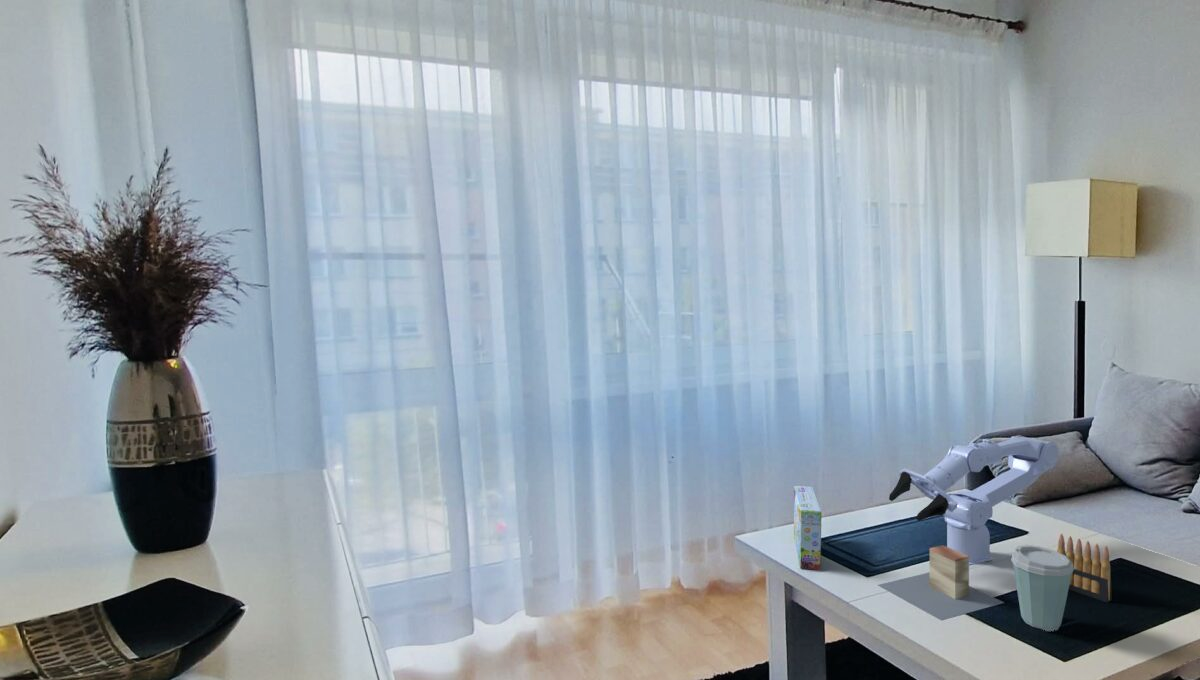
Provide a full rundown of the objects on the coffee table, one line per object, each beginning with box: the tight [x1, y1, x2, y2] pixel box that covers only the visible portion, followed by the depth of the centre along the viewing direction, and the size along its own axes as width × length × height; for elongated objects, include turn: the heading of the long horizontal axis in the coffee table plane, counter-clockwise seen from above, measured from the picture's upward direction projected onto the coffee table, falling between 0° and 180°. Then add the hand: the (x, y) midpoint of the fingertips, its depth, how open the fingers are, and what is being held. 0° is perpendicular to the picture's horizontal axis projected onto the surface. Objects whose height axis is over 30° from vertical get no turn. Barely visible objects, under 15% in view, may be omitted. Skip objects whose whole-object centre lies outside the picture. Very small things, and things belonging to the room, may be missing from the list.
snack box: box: [793, 485, 822, 570], centre depth 176 cm, size 21×6×15 cm, turn 168°
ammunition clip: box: [1056, 533, 1113, 603], centre depth 149 cm, size 11×2×12 cm, turn 29°
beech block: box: [929, 545, 970, 599], centre depth 151 cm, size 4×7×9 cm, turn 20°
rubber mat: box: [877, 571, 1005, 621], centre depth 151 cm, size 18×18×1 cm
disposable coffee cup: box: [1010, 544, 1074, 632], centre depth 136 cm, size 11×11×15 cm
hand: (904, 507), depth 160 cm, fingers open, 7 cm apart
